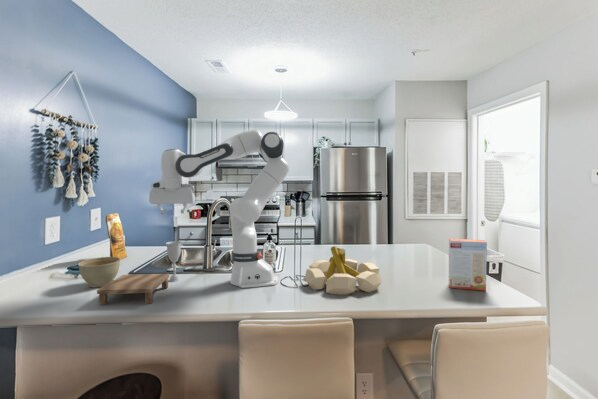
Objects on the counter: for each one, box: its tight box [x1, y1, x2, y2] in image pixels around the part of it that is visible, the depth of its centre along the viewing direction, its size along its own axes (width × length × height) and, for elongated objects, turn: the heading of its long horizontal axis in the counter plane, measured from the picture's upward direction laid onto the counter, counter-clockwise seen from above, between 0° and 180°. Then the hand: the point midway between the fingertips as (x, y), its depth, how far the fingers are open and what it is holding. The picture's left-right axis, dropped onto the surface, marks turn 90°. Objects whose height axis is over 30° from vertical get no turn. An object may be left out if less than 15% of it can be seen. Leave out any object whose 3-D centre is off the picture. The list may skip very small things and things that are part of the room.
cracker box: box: [448, 238, 488, 292], centre depth 138 cm, size 14×6×21 cm, turn 71°
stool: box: [96, 273, 170, 306], centre depth 131 cm, size 20×20×6 cm
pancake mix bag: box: [105, 212, 128, 261], centre depth 193 cm, size 7×19×28 cm, turn 3°
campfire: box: [304, 245, 382, 295], centre depth 146 cm, size 35×34×17 cm
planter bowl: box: [78, 256, 121, 288], centre depth 146 cm, size 16×16×11 cm
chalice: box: [165, 240, 182, 283], centre depth 151 cm, size 7×7×18 cm
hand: (172, 213), depth 150 cm, fingers open, 8 cm apart
